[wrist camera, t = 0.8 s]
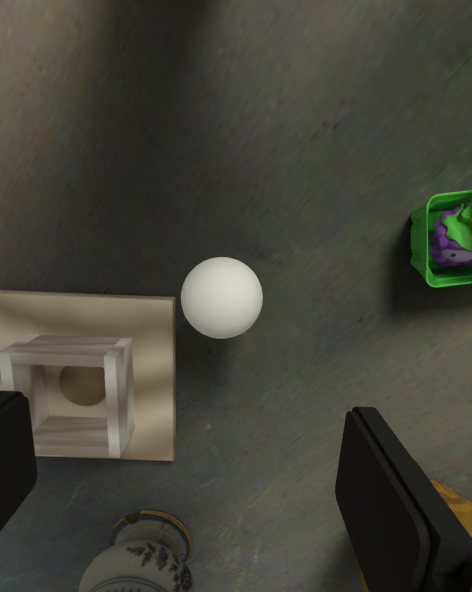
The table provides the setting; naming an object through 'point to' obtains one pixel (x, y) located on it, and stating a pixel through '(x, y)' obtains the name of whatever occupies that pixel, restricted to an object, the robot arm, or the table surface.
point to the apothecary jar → (143, 557)
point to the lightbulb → (221, 297)
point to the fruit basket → (443, 239)
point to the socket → (92, 372)
